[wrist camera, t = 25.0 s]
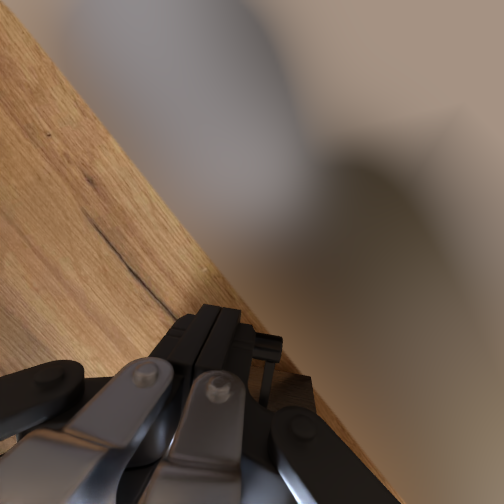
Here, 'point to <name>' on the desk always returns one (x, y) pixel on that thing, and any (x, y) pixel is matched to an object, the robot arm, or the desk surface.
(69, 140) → the desk surface
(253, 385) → the drawer
